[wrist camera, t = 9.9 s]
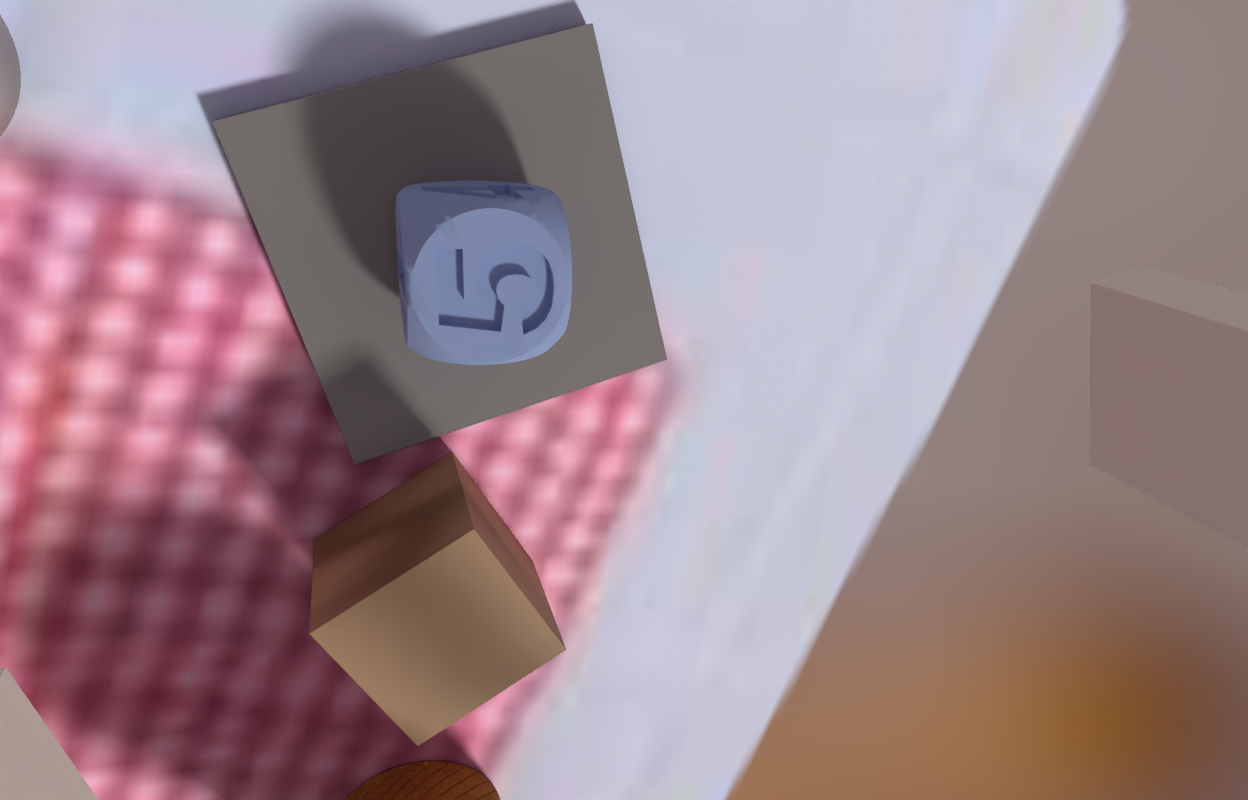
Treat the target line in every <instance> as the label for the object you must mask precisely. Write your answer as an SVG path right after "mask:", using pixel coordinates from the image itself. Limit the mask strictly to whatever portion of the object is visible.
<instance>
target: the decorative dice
mask: <svg viewBox="0 0 1248 800" xmlns="http://www.w3.org/2000/svg"><path fill="white" fill-rule="evenodd" d="M395 214H396V245H397V263H398V279H399V292H400V304H401V314H402V323H403V331H404V338H405V343H406V345H407V346H408V347H409V348H411V349H412V350H413V351H414V352H416V353H417V354H419V355H421V356H423V357H426V358H429V359H432V360H436V361H441V362H446V363H454V364H465V365H493V364H505V363H512V362H518V361H523V360H527V359H530V358H534V357H536V356H539V355H541V354H543V353H545V352H546V351H548V350H549V349H550V348H551V347H552V346H553V345H554V344H555V343H556V342H557V341H558V340H559V339H560V338H561V337H562V335H563V334H564V332H565V330H566V328H567V324H568V320H569V315H570V308H571V297H572V258H571V245H570V237H569V230H568V224H567V219H566V215H565V211H564V208H563V205H562V203H561V201H560V199H559V197H558V196H557V195H556V194H555V193H554V192H553V191H552V190H550V189H548V188H545V187H541V186H536V185H530V184H523V183H514V182H501V181H476V180H460V181H437V182H426V183H419V184H413V185H409V186H406V187H404V188H402V189H401V191H400V192H399V193H398V194H397V195H396V207H395Z"/></svg>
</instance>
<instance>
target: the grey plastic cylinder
mask: <svg viewBox="0 0 1248 800" xmlns="http://www.w3.org/2000/svg"><path fill="white" fill-rule="evenodd" d="M20 75H21V73H20V66H19V59H18V55H17V51H16V48H15V44H14V41H13V39H12V37H11V34H10V32H9V30H8V27H7V26H6V24H5V22H4V20H3V19H2V17H1V15H0V136H1V134H2V133H3V132H4V130H5V129H6V128H7V126H8V125H9V123H10V121H11V119H12V117H13V115H14V113H15V110H16V107H17V104H18V100H19V94H20Z"/></svg>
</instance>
